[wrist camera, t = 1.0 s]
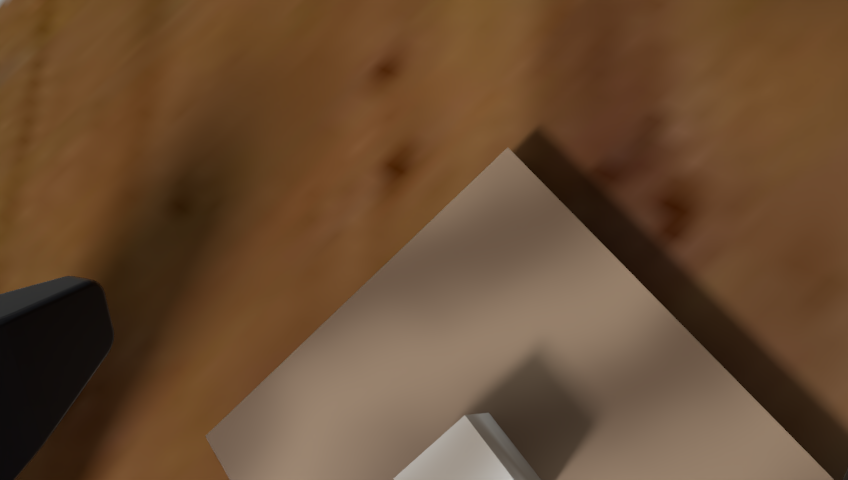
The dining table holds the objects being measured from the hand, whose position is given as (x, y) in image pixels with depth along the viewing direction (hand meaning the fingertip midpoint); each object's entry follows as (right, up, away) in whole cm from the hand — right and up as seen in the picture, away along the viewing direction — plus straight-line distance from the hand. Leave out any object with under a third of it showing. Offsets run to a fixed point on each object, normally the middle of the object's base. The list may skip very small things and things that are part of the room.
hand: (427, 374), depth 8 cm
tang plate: (+2, -6, +15) cm, 17 cm away
